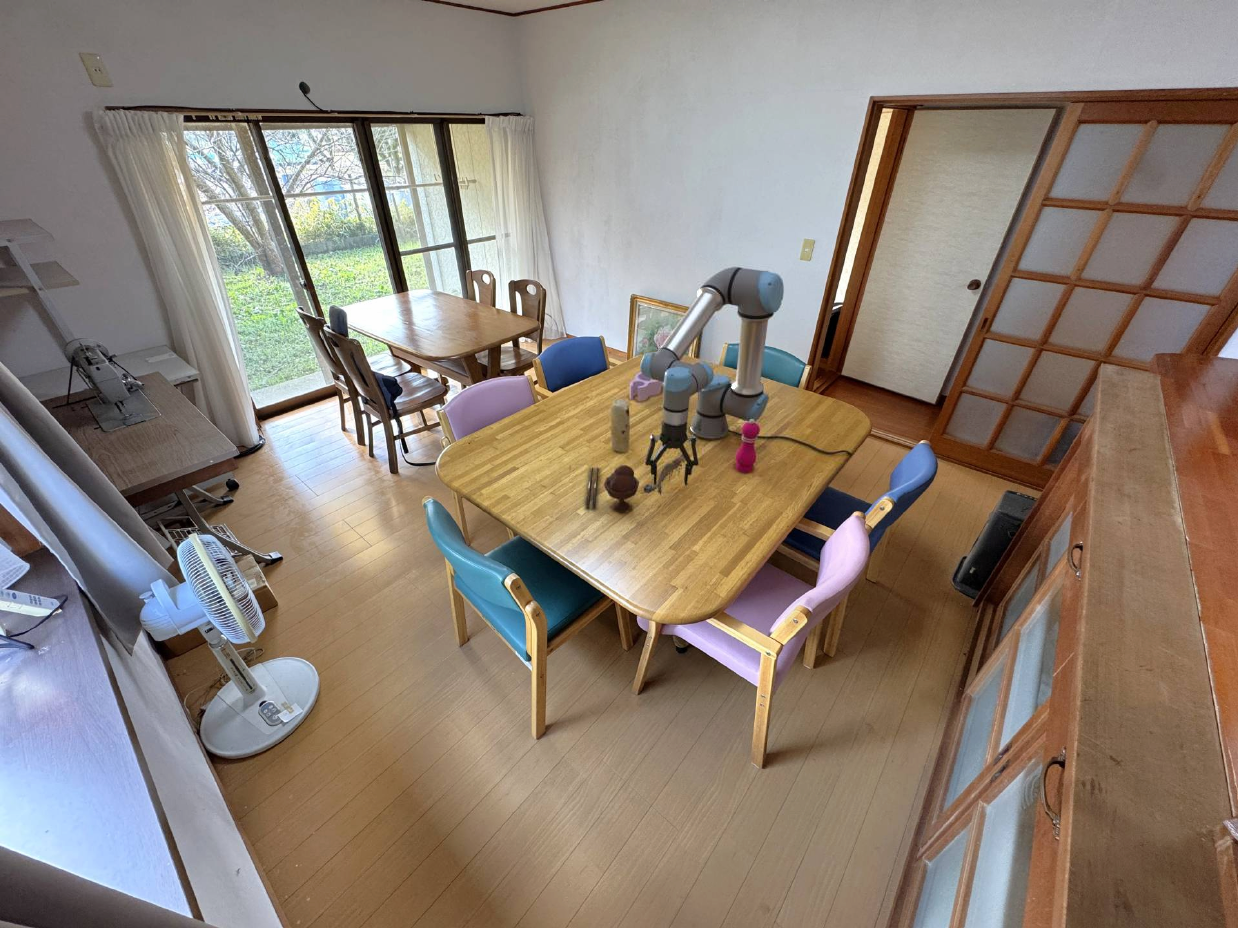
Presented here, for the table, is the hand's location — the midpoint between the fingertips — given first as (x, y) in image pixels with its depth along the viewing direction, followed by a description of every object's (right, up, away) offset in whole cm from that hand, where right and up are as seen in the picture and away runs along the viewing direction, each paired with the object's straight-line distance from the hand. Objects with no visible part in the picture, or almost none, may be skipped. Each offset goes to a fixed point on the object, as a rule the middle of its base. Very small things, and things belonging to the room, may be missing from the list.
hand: (670, 482), depth 153 cm
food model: (-16, +12, +32) cm, 38 cm away
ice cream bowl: (-16, -8, +2) cm, 18 cm away
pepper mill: (+29, +4, +21) cm, 36 cm away
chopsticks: (-25, -2, +11) cm, 28 cm away
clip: (-4, +40, +74) cm, 84 cm away
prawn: (-1, 0, 0) cm, 1 cm away
